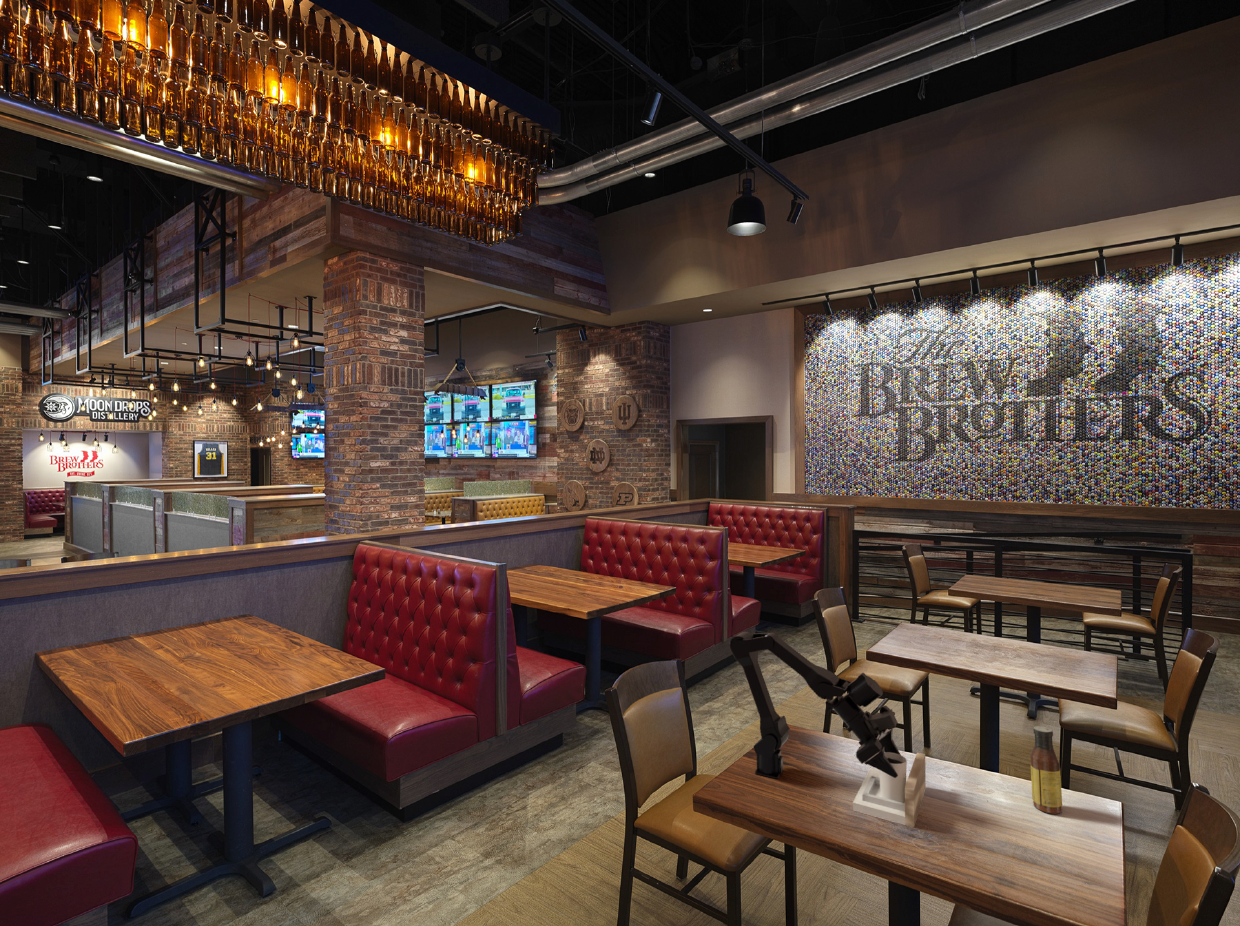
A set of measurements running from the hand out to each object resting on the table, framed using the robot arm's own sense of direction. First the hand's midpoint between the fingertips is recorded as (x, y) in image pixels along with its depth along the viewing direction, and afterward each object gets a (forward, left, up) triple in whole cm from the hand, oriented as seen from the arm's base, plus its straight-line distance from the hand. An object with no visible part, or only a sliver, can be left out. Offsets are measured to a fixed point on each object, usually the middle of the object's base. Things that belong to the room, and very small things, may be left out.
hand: (899, 769), depth 158 cm
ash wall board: (+4, +3, -10) cm, 11 cm away
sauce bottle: (+33, +16, -10) cm, 38 cm away
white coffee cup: (-2, 0, -8) cm, 8 cm away
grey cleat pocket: (-3, +3, -10) cm, 11 cm away
